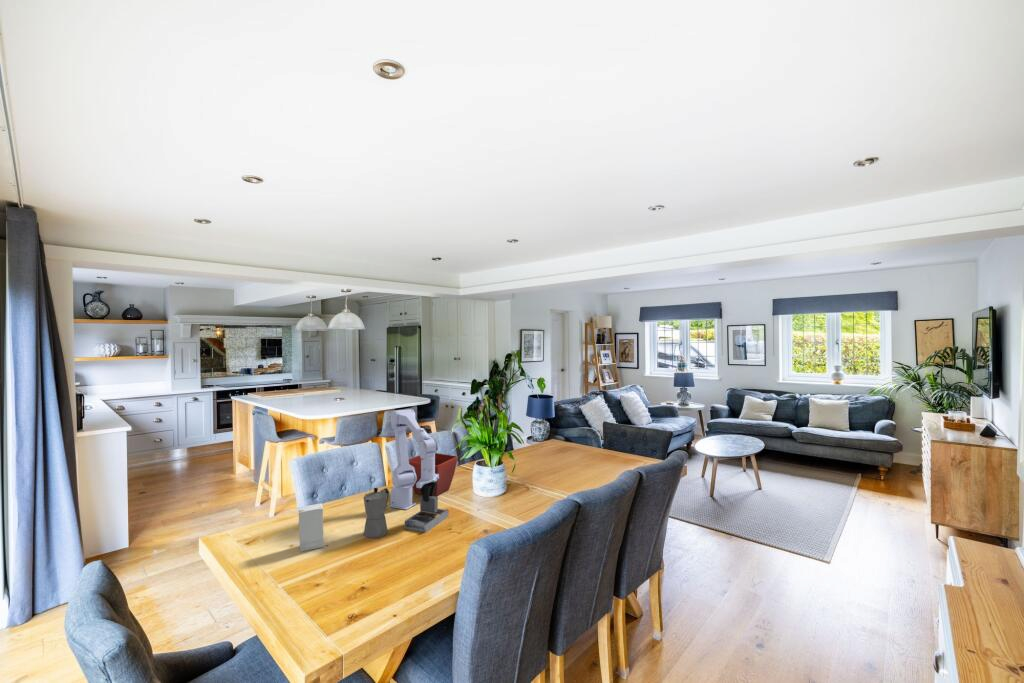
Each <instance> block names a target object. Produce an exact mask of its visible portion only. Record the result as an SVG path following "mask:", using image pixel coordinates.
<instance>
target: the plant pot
mask: <svg viewBox="0 0 1024 683" xmlns="http://www.w3.org/2000/svg"><path fill="white" fill-rule="evenodd" d="M408 459H409V465H411V466H412V467H414V469H415V473H416V477H417V480H416V483H417V482H418V481H419V480H420V479H421V458H420V454H419V455H416V456H414V457H411V458H408ZM457 463H458V456H457V455H451V454H445V453H444V454H443V453H439V452H438V453H436V452H435V474H439V479H437V482H438V484H437V485H436V488H435V490H434V494H433V496H435V497H438V496H439V495H441V494H444V493H445V492H447V491H449V490H450V488H451V485H452V482H453V480H454V475H455V473H456V469H457V467H456V466H457ZM416 483H415V484H414V486H412V491H413V492H414V494H418V495H422V493H421V491H420V489H419V488H416Z"/></svg>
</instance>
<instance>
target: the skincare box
mask: <svg viewBox="0 0 1024 683" xmlns="http://www.w3.org/2000/svg"><path fill="white" fill-rule="evenodd" d="M298 530H299V532H298V533H299V534H298V535H299V551H300V552H307V551H309V550H314V549H321V548H324V546H325V543H324V507H323V504H322V503H315V504H309V505H304V506H299V507H298Z"/></svg>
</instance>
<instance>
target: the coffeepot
mask: <svg viewBox="0 0 1024 683" xmlns="http://www.w3.org/2000/svg"><path fill="white" fill-rule="evenodd" d="M378 489H379V488H378V487H374V488H373V491H372V492H369V493H365V494H364V496H363V504H364V510H365V515H366V518H365V525H364V530H363V536H365V537H366V538H369V539H376V538H377V539H378V538H380V537H381V538H383V537H384V536H385V535H387V533H388V526H387V520H386V519H387V518H386V515H385V512H386V509H387V506H388V500H389V496H390V495H389V494H390V490H389V489H388V488H387V487H385V488H384V489H381V490H379V491H378Z"/></svg>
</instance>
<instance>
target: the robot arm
mask: <svg viewBox="0 0 1024 683" xmlns="http://www.w3.org/2000/svg"><path fill="white" fill-rule="evenodd" d="M390 425H391V429H392V430H393V431H394V437H395V438H394V439H395V450H396V460H397V461H396V462H397V466H396V467H395V468H394V469H393V470H392V477H391V478H392V479H391V482H392V485H393V486H392V487H391V490H390V505H389V507H390V508H395V509H400V510H406V511H407V510H409V509H410V508H413V507H414V506H417V502H413V487H412V486H414V484H415V483H416V480H417V477H416V473H415V469H414V467H412V466H411V465H409V459H410V458H409V452H408V451H409V450H408V449H409V448H408V442H407V432H406V430H407V429H409V430H410V431H411V432H412V437H413V439H414V441H415V442H416V443H417V445H418V448H417V449H418V452H419V455H420V458H421V479H420V480H419V481H418V482H417V483H416V488H419V489H420V491H421V493H422V494H421V496H422V497H423V501H425V502H428V501H429V496H433V494H434V490H435V488H436V485H437V484H438V482H437V479H439V474H435V453H436V452H437V451H438V448H439V445H438V442H437V440H436V438H434V437H433V438H432V437H431V436H430V435H429V434H428V432H427V431H426V430H425V429H424V428H423V427H420V425H419V423H418V422H417V419H416V412H415V410H414V409H413V408H409V409H399V410H392V412H391V414H390Z"/></svg>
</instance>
